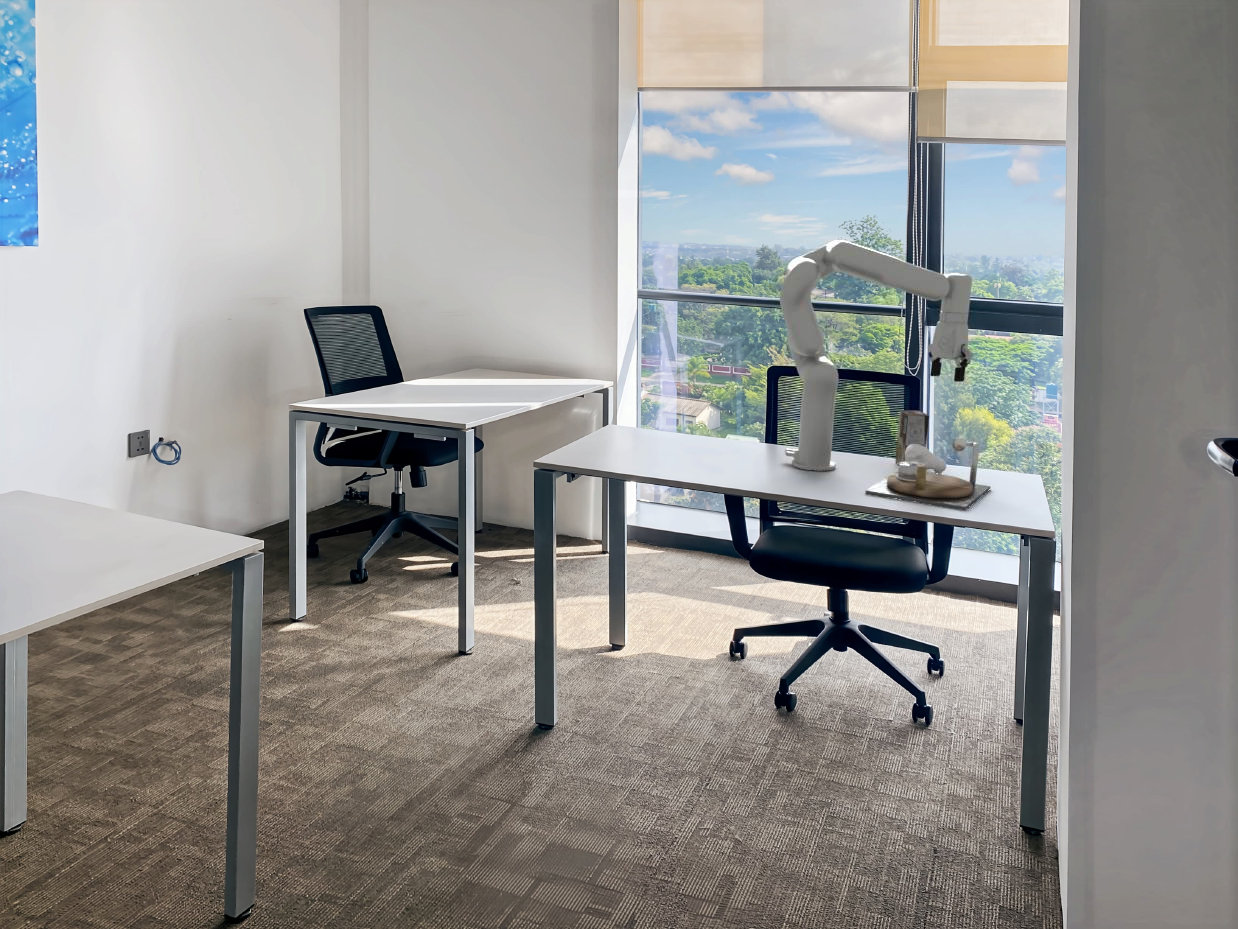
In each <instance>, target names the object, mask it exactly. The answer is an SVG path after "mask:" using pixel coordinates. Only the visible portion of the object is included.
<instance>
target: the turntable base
mask: <svg viewBox="0 0 1238 929" xmlns="http://www.w3.org/2000/svg"><path fill="white" fill-rule="evenodd" d="M951 445H952V448H953V449H954V450H955V451H956V452H963V451H964V450H966V449H967V447H972V454H971V463H970V472H969V481H968V482H970V483H971V484H972V485H973V490H972V493H971V494H970V495H968V496H964V497H958V498H932V497H922V496H916V495H911V494H906V493H902V492H899V491H896V490H894V489H892V488H890V487H889V486H888V485H887V478H888V477H889V476H887V477H885V478H883V479H882V480H880V481H879V482H877V483H875V484H874V485H872V486H870V487H868V488H867V489H866V490H865V493H864V494H865V495H868V494H871V495H870V496H874V495H878V496H877V497H880V496H883V497H882V498H886V497H889V498H888V499H892V498H897V499H896V500H898V499H901V500H900V501H904V500H909V501H908V502H910V501H916V502H919V503H918V504H922V503H924V504H923V505H928V504H931V505H930V506H934V505H935V507H940V506H942V508H947V509H952V508H953V510H958V509H962V510H961V511H964V510H966V509H967V508H968V509H970V507H972V506H973V505H974V504H975V503H977V502H978V501H979V500H980V499H981V498H982V497H983V496H985V495H986V494H987V493H988V492H989V491H990V490H991V488H992V487H991V486H990V485H985V484H978V483H977V484H976V481H977V472H978V462H979V455H980V454H979V453H980V446H981V445H980V443H979V442H977V441H966V439H964V438H963V437H957V438H955V439H954V440H953V441H952V444H951ZM897 473H898V471H896V472H894V473H892V474H891V475H893V474H897ZM989 489H990V490H989ZM988 490H989V491H988ZM987 491H988V492H987ZM986 492H987V493H986ZM985 493H986V494H985ZM984 494H985V495H984ZM982 495H983V496H982ZM981 496H982V497H981ZM980 497H981V498H980ZM979 498H980V499H979ZM978 499H979V500H978ZM977 500H978V501H977ZM916 502H915V503H916ZM973 503H974V504H973ZM972 504H973V505H972ZM971 505H972V506H971ZM969 506H970V507H969ZM968 509H967V510H968ZM967 510H966V511H967Z"/></svg>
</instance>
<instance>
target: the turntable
mask: <svg viewBox="0 0 1238 929" xmlns="http://www.w3.org/2000/svg"><path fill="white" fill-rule="evenodd" d="M892 474H893V475H892ZM892 474H890V475H888V476H887V477H888V478H887V477H886V478H887V485H888V486H889V487H890V488H892V489H894V490H896V491H899V492H902V493H906V494H911V495H916V496H922V497H932V498H958V497H964V496H968V495H970V494H971V493H972V490H973V485H972V484H971V483H970V482H969V481H968V480H966V479H964V478H963V479H962V478H959V477H957V476H951V475H947V474H942V473H941V474H935V472H927V467H926V466H922V465H918V466H917V473H916V483H915V482H905V481H901V480H898V479H897V478H896V475H897V474H898V473H897V474H894V473H892ZM925 480H926V481H925Z"/></svg>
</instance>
